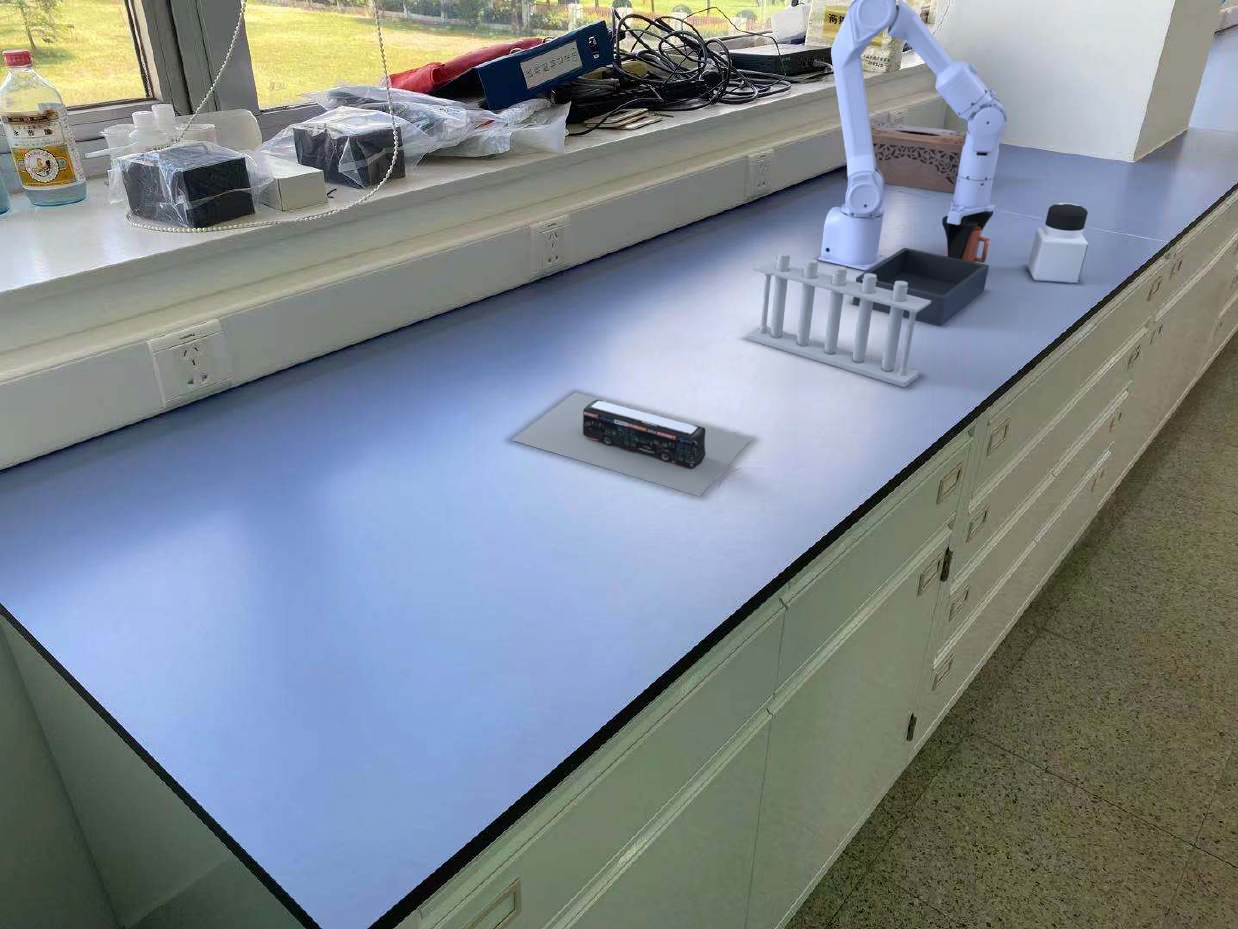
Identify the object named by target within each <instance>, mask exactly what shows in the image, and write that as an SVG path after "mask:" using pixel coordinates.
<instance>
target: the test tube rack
mask: <svg viewBox="0 0 1238 929" xmlns="http://www.w3.org/2000/svg"><path fill="white" fill-rule="evenodd" d="M790 254H791V253H789V252H783V251H782V252H778V253H777V257H776V261H775V260H770V259H768V260H766V261H764V262H762V263H760V264H757V265H755V266H753V267H752V271H754V272H758V273H762V274H764V287H763V298H762V311H761V320H760V326H759V327H758V328H756V329H754V330H752V331H750V332H749V333H747V334H746V340H748V341H752V342H754V343H758V344H761V345H765V346H767V347H771V348H774V349H776V350H781V351H784V352H787V353H791V354H793V355H797V356H800V357H804V358H806V359H810V360H813V361H816V362H820V363H823V364H826V365H829V366H832V367H836V368H840V369H842V370H846V371H848V372H852V373H854V374H855V373H856V374H858V375H862V376H864V377H868V378H872V379H875V380H879V381H881V382H884V383H888V384H891V385H895V386H898V387H901V388H906V387H908V385H910V384H911V383H912V382H913V381H915V380H916V379H918V377H919V375H920V371H918V370H915V369H912V368H908V363H909V356H910V352H911V346H912V340H913V334H914V328H915V322H916V320H915V317H916V314H917V312H919V311H920V310H922V309H923V308H925V307H926V306H928V305H929V304H931V300H927V299H923V298H919V297H915V296H911V295H907V289H908V286H907V285H908V283H907V282H905V281H896V282H895V285H894V286H893V287H894V290H893V291H891V290H887V289H883V288H879V287H875V286H876V281H877V279H876V277H877V276H876V275H875V274H872V273H866V274H864V278H863V283H859V282H856V280H855V281H854V280H852V279H851V280H850V279H847V273H848V271H847V268H848V267H847V266H844V265H836V266H834V268H833V271H832V273H833V274H832V275H831V274H827V273H823V272H819V271H818V267H819V264H818V263H819V262H818V260H817V259H814V258H807V259H805V263H804V267H803V268H802V267H799V266H795V265H791V264H790V260H791V257H790V256H791V255H790ZM772 276H774V288H773V289H774V291H773V299H772V300H773V301H772V310H771V320H770V321H771V322H770V323H771V324H770V327H769V326H768V325H767V324H768V315H769V314H768V313H769V302H770V291H771V282H772V281H771V278H772ZM788 280H789V281H792V282H797V283H801V284H802V288H801V297H800V304H799V305H800V306H799V315H798V316H799V317H798V324H797V325H798V326H797V334H793V333H790V332H787V331H783V330H784V321H785V310H786V300H787V299H786V298H787V292H788V291H787V290H788ZM816 288H820V289H823V290H828V291H830V297H829V304H828V305H829V306H828V313H827V320H826V329H825V338H824V342H820V341H817V340H813V339H811V338H810V335H811V327H812V317H813V309H814V301H815V291H816ZM844 295H846V296H851V297H853V298H854V297H858V298H860V305H859V306H858V307H859V308H858V313H857V320H856V327H855V334H854V341H853V347H852V348H853V349H852V350H847V349H844V348H841V347H838V339H839V334H840V325H841V318H842V310H843V302H844ZM873 302H877V303H881V304H885V305H889V306H891V309H890V313H889V316H888V321H887V329H886V335H885V340H884V347H883V352H882V360H881V359H879V358H875V357H871V356H868V355H866V354H867V353H866V352H867V347H868V340H869V335H870V334H869V333H870V327H871V321H872V320H871V319H872V312H873V309H872V307H873ZM904 310H908V311H909V313H910V315H909V318H908V321H907V328H906V333H905V338H904V344H903V350H902V356H901V361H900V365H898V364H896V359H897V355H898V349H899V348H898V347H899V342H900V336H901V329H902V323H903V318H904V317H903V313H904Z"/></svg>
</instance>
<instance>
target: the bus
mask: <svg viewBox="0 0 1238 929" xmlns="http://www.w3.org/2000/svg"><path fill="white" fill-rule="evenodd" d="M511 441H514V442H517V443H521V444H524V445H527V446H529V447H530V446H531V447H533V448H537V449H541V450H544V451H547V452H551V453H554V454H557V455H560V456H564V457H567V458H570V459H574V460H577V461H580V462H584V463H587V464H591V465H594V466H596V467H597V466H598V467H600V468H603V469H607V470H611V471H614V472H616V473H617V472H618V473H621V474H624V475H627V476H631V477H634V478H638V479H641V480H644V481H647V482H650V483H654V484H657V485H660V486H664V487H668V488H671V489H673V490H677V491H680V492H685V493H687V494H691V495H694V496H698V497H700V496H701V495H702V494H703V493H704V492H705V491H706V489H707V488H708V487H709V486H710V485H711V484H712V483H713V482H714V481H715V480H716V478H717V477H718V476H720V474H721V473H722V472H723V471H724V469H726V468H727V466H728V465H729V464H730V463H731V462H732V461H733V460H734V459H735V457H737V455H739V453H740V452H741V451H742V450H743V449H744V448H745V446H746V445H747V444H748V443H750V441H751V438H748V437H745V436H741V435H736V434H733V433H729V432H725V431H721V430H718V429H715V428H711V427H706V426H703V425H700V424H696V423H691V422H689V421H685V420H680V419H677V418H673V417H670V416H665V415H662V414H658V413H655V412H654V413H653V412H650V411H647V410H644V409H643V410H642V409H638V408H636V407H631V406H627V405H624V404H620V403H617V402H613V401H608V400H605V399H601V398H597V397H594V396H589V395H586V394H582V393H579V392H574V393H573V394H570V395H569V396H568V397H567V398H565V400H563V401H562V402H560V403H559V404H557V405H556V406H555V407H553V408H552V409H550V410H549V411H548V412H547V413H545V415H543V416H541V417H540V418H538V420H536V421H534V422H533V423H532V424H530V425H529V426H528V427H527V428H525V429H524V430H523V431H522V432H520V433H519V434H517V435H516V436H515V437H514V438H512V439H511Z"/></svg>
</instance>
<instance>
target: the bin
mask: <svg viewBox="0 0 1238 929" xmlns="http://www.w3.org/2000/svg"><path fill="white" fill-rule="evenodd" d="M989 267H990V265H989V264H985V263H982V262H977V261H976V262H971V261H966V260H961V259H957V258H952V257H947V256H945V255H941V254H937V253H932V252H927V251H923V250H918V249H914V248H909V247H903V248H901V249H899V250H898V251H896V252H895V253H893V254H891V255H889V256H888V257H887V258H885V260H883V261H882V262H880V263H878V264H877V265H875V266H874V267H872V268H870V269H869V270H865V272H863V273H861V274H860V275H857V277H855V282H859V283H863V278H864V274H866V273H872V274H875V275H876V276H877V277H876V279H877V281H876V286H875V287H879V288H883V289H887V290H891V291H893V290H894V287H893V286H894V285H895V282H896V281H905V282H907V283H908V285H907V286H908V289H907V295H911V296H915V297H919V298H923V299H927V300H931V304H929V305H928V306H926V307H925V308H923V309H922V310H920V311H919V312H917V314H916V317H915V321H918V322H922V323H926V324H930V325H933V326H934V325H935V326H938V327H941V326H943V325H944V324H945V323H946V322H948V321H949V320H950V319H952V318H953V317H954V316H955V315H956V314H958V313H959V312H960V311H962V309H964V308H966V306H968V305H969V304H970V303H971V302H972V301H974V300H975V299H977V297H979V296H980V295H981V294H982V293H983V292H984V290H985V286H986V282H987V276H988V272H989ZM852 305H854V306H858V307H859V305H860V298H858V297H854V296H853V299H852ZM890 309H891V306H889V305H885V304H881V303H877V302H873V307H872V310H875V311H878V312H882V313H886V314H890ZM909 315H910V313H909V311H908V310H904V313H903V318H907V319H909Z"/></svg>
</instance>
